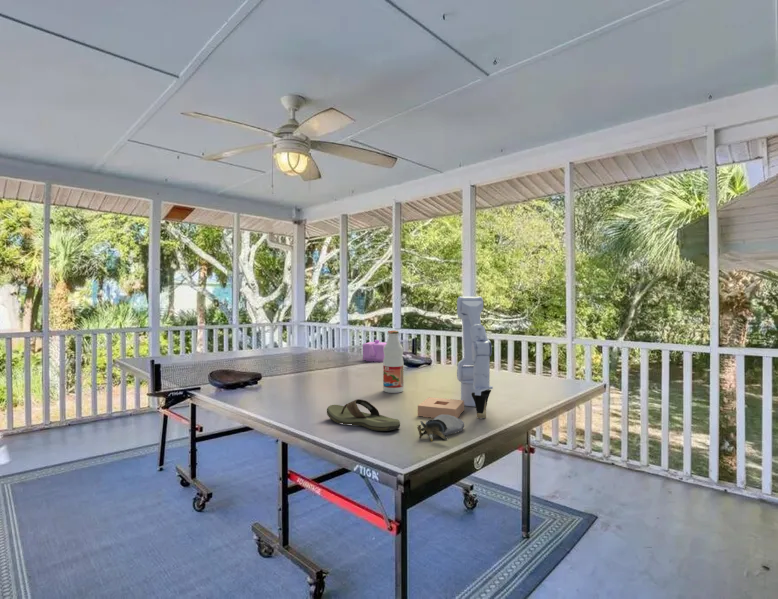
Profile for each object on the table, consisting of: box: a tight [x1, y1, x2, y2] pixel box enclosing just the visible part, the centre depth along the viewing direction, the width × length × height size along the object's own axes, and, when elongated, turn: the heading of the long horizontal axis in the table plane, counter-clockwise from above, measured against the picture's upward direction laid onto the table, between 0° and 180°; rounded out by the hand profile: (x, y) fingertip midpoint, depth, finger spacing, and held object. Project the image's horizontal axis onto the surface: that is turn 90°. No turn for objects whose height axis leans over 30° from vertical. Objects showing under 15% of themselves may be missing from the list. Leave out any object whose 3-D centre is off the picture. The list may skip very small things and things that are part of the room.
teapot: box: [362, 339, 387, 363], centre depth 298 cm, size 15×25×14 cm, turn 159°
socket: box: [417, 396, 465, 419], centre depth 165 cm, size 14×14×4 cm
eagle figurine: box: [417, 419, 448, 442], centre depth 136 cm, size 8×7×9 cm
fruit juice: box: [382, 330, 405, 394], centre depth 203 cm, size 9×9×28 cm
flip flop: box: [326, 398, 401, 432], centre depth 152 cm, size 29×12×8 cm, turn 52°
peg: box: [476, 401, 487, 419], centre depth 159 cm, size 3×3×7 cm
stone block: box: [424, 414, 465, 436], centre depth 144 cm, size 12×5×10 cm
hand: (481, 411), depth 159 cm, fingers open, 5 cm apart
